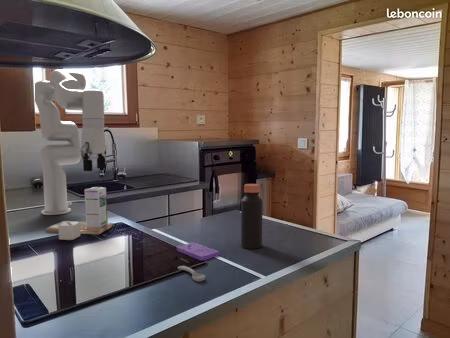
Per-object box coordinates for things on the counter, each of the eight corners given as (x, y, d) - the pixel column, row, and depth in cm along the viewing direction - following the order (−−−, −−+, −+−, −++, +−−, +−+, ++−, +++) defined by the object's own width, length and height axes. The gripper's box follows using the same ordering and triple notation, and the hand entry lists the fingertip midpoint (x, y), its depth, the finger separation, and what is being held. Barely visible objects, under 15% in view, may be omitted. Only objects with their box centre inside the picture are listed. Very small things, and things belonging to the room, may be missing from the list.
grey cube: (67, 235, 127) (66, 221, 127) (80, 236, 127) (79, 222, 126) (59, 239, 122) (58, 225, 122) (72, 240, 122) (71, 225, 121)
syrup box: (100, 227, 131) (99, 189, 130) (85, 227, 132) (84, 188, 131) (107, 224, 137) (106, 186, 135) (93, 223, 138) (92, 186, 136)
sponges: (193, 247, 115) (193, 241, 115) (219, 256, 106) (219, 250, 106) (175, 252, 110) (175, 246, 110) (201, 262, 101) (201, 256, 101)
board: (64, 224, 143) (64, 220, 143) (113, 226, 140) (113, 222, 140) (45, 232, 131) (45, 228, 131) (98, 234, 128) (98, 230, 128)
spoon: (197, 284, 85) (197, 276, 85) (175, 272, 95) (175, 265, 95) (208, 281, 87) (207, 273, 87) (185, 270, 97) (184, 262, 97)
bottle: (256, 250, 109) (256, 186, 108) (237, 247, 113) (237, 185, 111) (265, 245, 115) (266, 184, 113) (247, 241, 119) (247, 182, 117)
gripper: (95, 124, 140) (97, 167, 142) (70, 123, 123) (72, 172, 125) (113, 124, 139) (114, 167, 141) (90, 123, 122) (92, 172, 124)
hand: (94, 169), depth 133 cm, fingers open, 9 cm apart
